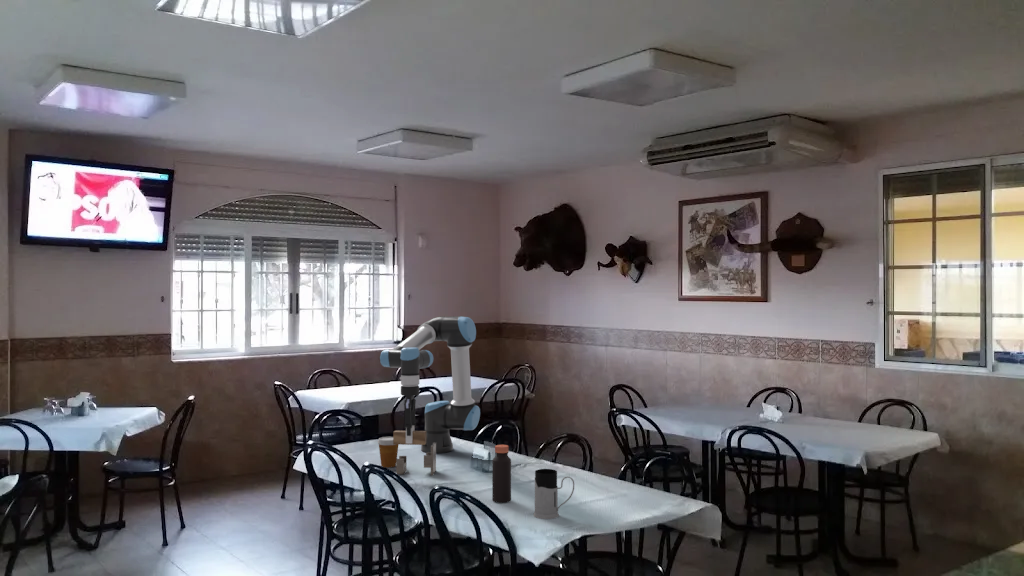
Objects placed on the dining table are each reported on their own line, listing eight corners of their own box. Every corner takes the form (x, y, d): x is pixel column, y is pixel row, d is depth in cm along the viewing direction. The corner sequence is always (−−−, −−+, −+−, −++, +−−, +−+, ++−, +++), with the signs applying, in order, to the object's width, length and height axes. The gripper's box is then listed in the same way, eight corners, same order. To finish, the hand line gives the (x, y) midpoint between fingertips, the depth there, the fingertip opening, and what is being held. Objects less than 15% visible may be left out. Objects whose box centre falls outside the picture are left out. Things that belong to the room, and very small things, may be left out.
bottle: (492, 498, 289) (493, 444, 289) (511, 498, 289) (511, 444, 289) (491, 503, 282) (491, 447, 282) (510, 503, 282) (510, 447, 282)
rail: (395, 442, 323) (395, 430, 323) (426, 443, 322) (426, 430, 322) (393, 444, 320) (393, 432, 320) (424, 444, 319) (424, 432, 319)
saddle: (399, 470, 332) (399, 455, 332) (406, 470, 332) (406, 455, 332) (396, 474, 325) (396, 459, 325) (403, 474, 325) (403, 459, 325)
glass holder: (536, 510, 273) (537, 467, 273) (576, 514, 268) (576, 470, 268) (530, 517, 264) (530, 473, 264) (571, 521, 260) (571, 476, 260)
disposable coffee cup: (373, 467, 338) (373, 439, 338) (385, 462, 347) (385, 435, 347) (392, 469, 335) (392, 441, 335) (403, 464, 344) (403, 437, 344)
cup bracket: (426, 470, 332) (426, 442, 332) (435, 470, 332) (436, 442, 332) (423, 475, 324) (423, 446, 324) (433, 475, 324) (433, 446, 324)
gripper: (404, 382, 329) (404, 438, 329) (396, 387, 313) (396, 446, 313) (422, 382, 329) (422, 438, 329) (415, 388, 312) (415, 446, 312)
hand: (410, 442), depth 321 cm, fingers closed on rail, 3 cm apart
